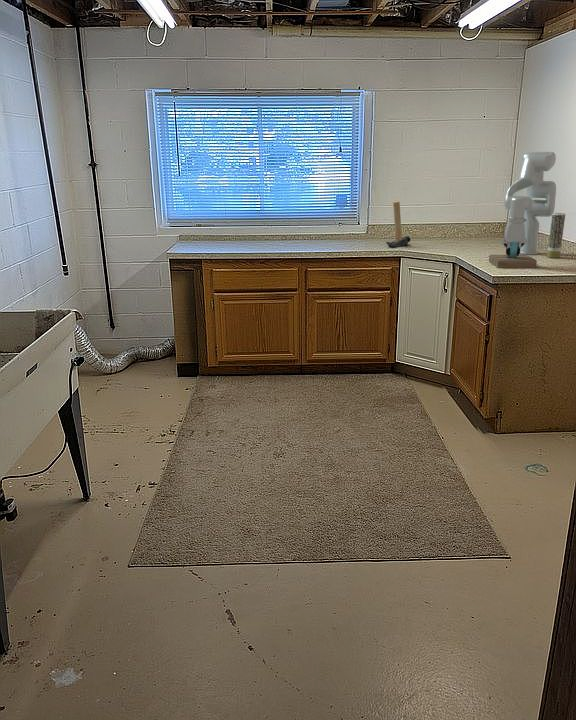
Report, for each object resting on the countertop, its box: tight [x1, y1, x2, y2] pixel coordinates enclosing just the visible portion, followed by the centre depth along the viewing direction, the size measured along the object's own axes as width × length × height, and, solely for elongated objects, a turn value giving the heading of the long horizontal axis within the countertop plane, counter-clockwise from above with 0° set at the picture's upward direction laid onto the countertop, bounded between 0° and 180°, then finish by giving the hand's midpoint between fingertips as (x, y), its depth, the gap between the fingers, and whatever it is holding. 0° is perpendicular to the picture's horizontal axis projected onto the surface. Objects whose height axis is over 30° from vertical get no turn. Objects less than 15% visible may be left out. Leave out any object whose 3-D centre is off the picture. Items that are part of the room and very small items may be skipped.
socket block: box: [488, 254, 538, 269], centre depth 326 cm, size 20×20×4 cm
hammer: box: [385, 200, 411, 248], centre depth 394 cm, size 20×5×30 cm, turn 133°
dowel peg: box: [508, 242, 518, 258], centre depth 324 cm, size 4×4×9 cm
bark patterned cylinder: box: [546, 212, 566, 259], centre depth 343 cm, size 7×7×25 cm
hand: (512, 254), depth 325 cm, fingers closed on dowel peg, 4 cm apart
